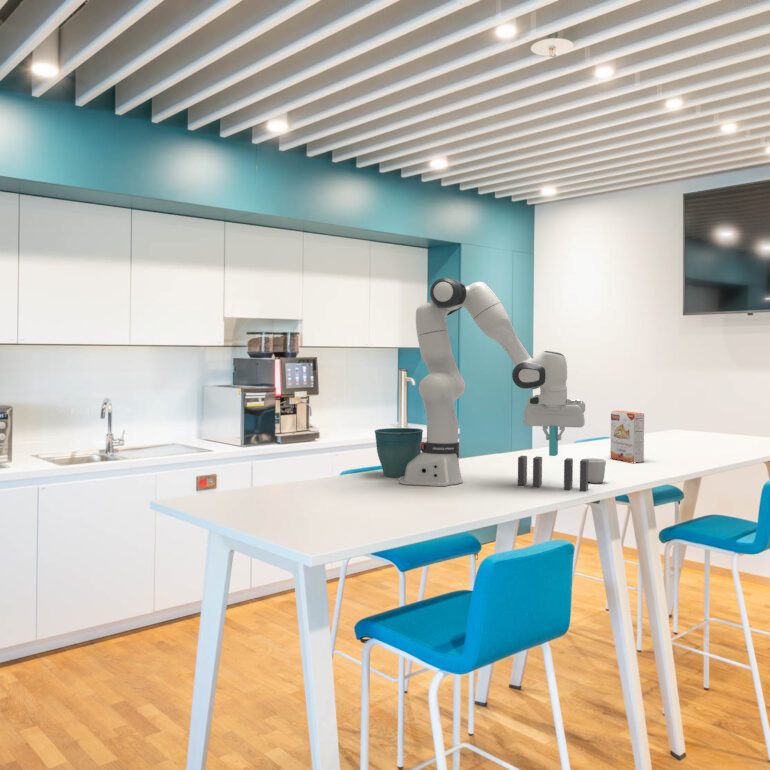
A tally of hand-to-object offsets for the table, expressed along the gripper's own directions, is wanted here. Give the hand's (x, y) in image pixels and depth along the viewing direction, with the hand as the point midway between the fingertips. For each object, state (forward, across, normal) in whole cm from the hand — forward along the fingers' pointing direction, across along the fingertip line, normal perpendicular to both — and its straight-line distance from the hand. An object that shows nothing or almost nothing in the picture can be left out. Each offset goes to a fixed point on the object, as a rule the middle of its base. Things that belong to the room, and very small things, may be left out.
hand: (553, 439), depth 251 cm
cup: (+17, -10, -17) cm, 26 cm away
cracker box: (+17, -17, -75) cm, 79 cm away
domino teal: (+5, 0, 0) cm, 5 cm away
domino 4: (+16, -10, 0) cm, 19 cm away
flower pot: (+16, +58, -2) cm, 60 cm away
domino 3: (+16, -5, 0) cm, 17 cm away
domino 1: (+16, +11, 0) cm, 19 cm away
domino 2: (+16, +5, 0) cm, 17 cm away
